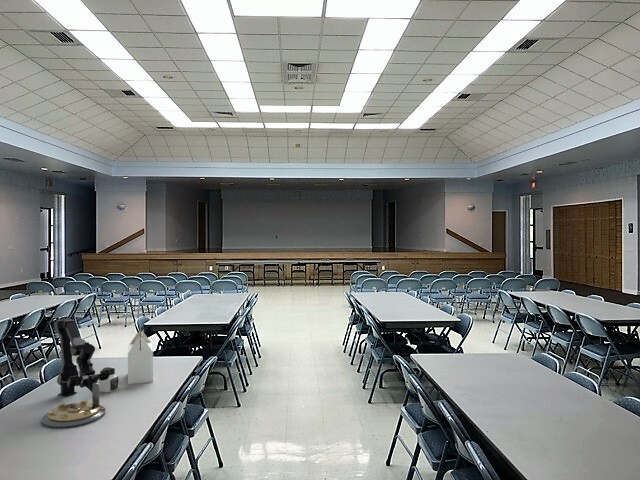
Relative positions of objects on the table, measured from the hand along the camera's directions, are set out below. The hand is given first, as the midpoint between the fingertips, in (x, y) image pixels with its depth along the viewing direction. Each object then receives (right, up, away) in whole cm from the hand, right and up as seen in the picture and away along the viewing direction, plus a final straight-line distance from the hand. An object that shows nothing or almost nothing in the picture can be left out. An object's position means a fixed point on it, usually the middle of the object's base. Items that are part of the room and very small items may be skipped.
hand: (94, 393), depth 229 cm
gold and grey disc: (-6, -9, -6) cm, 12 cm away
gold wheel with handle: (-6, -7, -6) cm, 11 cm away
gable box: (+2, -8, +55) cm, 55 cm away
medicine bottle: (-7, -9, +32) cm, 34 cm away
